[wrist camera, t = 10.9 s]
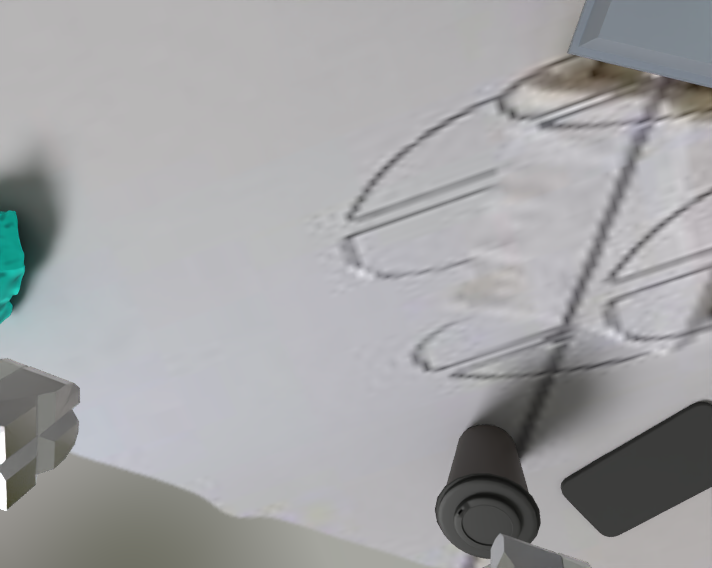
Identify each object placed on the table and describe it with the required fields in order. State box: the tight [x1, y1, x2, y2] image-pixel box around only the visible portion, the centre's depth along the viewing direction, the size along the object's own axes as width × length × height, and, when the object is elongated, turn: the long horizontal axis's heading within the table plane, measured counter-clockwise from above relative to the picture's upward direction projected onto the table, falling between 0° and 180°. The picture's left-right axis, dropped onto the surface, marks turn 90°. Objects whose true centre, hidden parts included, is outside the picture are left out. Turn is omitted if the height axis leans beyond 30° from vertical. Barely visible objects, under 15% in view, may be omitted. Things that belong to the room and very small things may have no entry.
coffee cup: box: [435, 425, 541, 559], centre depth 47 cm, size 8×8×10 cm
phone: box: [561, 402, 712, 537], centre depth 48 cm, size 7×1×15 cm
